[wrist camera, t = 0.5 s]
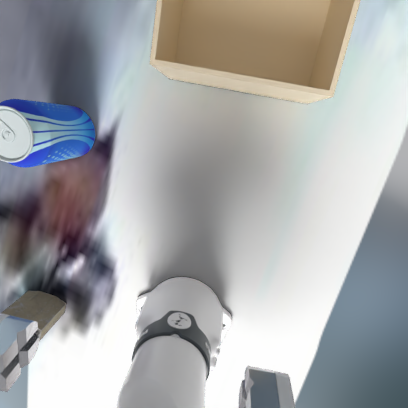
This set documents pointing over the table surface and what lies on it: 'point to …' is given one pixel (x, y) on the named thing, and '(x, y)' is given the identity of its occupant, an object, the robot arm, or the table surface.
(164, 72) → the carton
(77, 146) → the beer can
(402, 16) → the table surface
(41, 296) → the padlock
